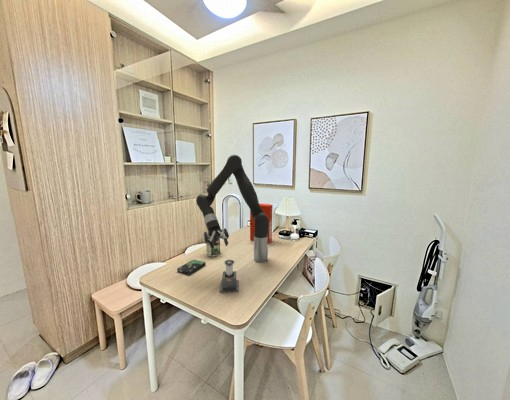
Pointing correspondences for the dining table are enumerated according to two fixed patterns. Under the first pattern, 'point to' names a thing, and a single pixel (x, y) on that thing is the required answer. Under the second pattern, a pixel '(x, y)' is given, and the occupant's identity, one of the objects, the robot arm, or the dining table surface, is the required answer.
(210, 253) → the coffee can
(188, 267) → the disk drive
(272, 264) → the dining table surface
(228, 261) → the column
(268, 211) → the file binder
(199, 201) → the robot arm
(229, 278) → the stand
